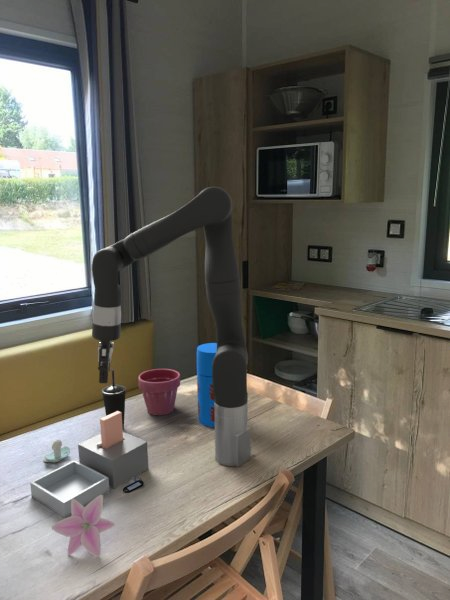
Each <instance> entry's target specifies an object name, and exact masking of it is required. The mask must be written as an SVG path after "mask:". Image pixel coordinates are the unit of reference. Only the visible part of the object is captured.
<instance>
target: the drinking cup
mask: <svg viewBox="0 0 450 600" xmlns="http://www.w3.org/2000/svg"><path fill="white" fill-rule="evenodd" d="M111 383H112V384H110V385H107V386H104V387H103V388H102V389H101V394H102V399H103V406H104V411H105V416H107V415H109V414H112V413H114V412H116V411H119V412H122V428H123V431H124V428H125V412H126V411H125V410H126V408H125V407H126V393H127V392H126V391H127V387H126V386H124V385H121V384H116V383H115V369H111Z"/></svg>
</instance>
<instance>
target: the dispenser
mask: <svg viewBox="0 0 450 600" xmlns="http://www.w3.org/2000/svg"><path fill="white" fill-rule="evenodd" d="M77 449H78V462H79V463H81V464H83V465H85V466H87V467H89V468H91V469H93V470H95V471H97V472H99V473H100V474H102V475H104V476H106V477H108V478H109V488H110V489H113V490H115V489H117V488H118V487H120V486H122V485H124V484H125V483H126V482H128V481H130V480H132V479H133V478H135V477H137V476H138V475H140V474H142V473H144V471H146V470H149V456H148V451H149V450H148V441H146V440H144V439H142V438H139V437H137V436H134V435H131V434H129V433H127V432H125V431H123V441H121V442H119V443H117V444H115V445H113V446H111V447H109V448H107V449H106V450H105V449H103V448H102V442H101V433H99V434H96V435H95V436H94V435H93V437H90V438H89V439H88V438H87V439H86V440H84V441H82V442H80V443H78V444H77ZM132 477H133V478H132ZM131 478H132V479H131Z"/></svg>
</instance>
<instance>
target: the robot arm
mask: <svg viewBox="0 0 450 600" xmlns="http://www.w3.org/2000/svg"><path fill="white" fill-rule="evenodd" d="M233 205H234V204H233V199H232V197H231V195H230V194H229V192H228V191H227V190H225V188H222V187H219V186H210V187H206V188H204V189H203V190H201V191H199V193H198V194H197V195H196V196H195V197H193V199H191V200H189V202H187V203H185V205H183V206H181V207H180V208H178V209H177V210H175V211H174V212H172V213H170V214H168V215H166V216H164V217H163V218H159V219H158V220H155V221H153V222H151V223H149V224H147V225H144V226H143V227H142V228H139V229H137V230H135V231H133V232H131V233H130V234H129V235H127V236H126V237H125V238H124V239H121V240H119V241H117V242H116V243H115V242H114V243H113V244H111V245H109V246H107V247H104V248H102V249H100V250H98V251H97V252H96V253H95V254H94V255H93V258H92V261H91V271H92V272H91V274H92V279H93V285H94V293H93V294H94V295H93V296H94V300H93V309H92V326H91V327H92V330H91V337H92V338H93V339H94V340H96V341H100V342H98V345H97V362H98V367H97V369H98V371H99V373H98V374H99V375H98V376H99V377H98V378H99V379H98V382H99V384H108V381H109V372H110V371H111V369H110V368H111V362H112V355H113V351H114V341H117V340H119V339H120V337H121V329H122V327H121V326H122V325H121V324H122V308H121V306H122V305H121V304H122V303H121V302H122V288H121V286H120V284H119V271H121V270H122V269H125V268H126V267H128V266H130V265H131V264H133V263H134V262H136V261H139V260H142V259H144V258H146V257H149V256H150V255H152V254H153V253H154V254H155V253H156V252H158V251H159V250H162V249H163V248H164V247H165V248H166V246H168V245H169V244H172V242H175V241H176V240H178V239H179V238H181V237H183V236H185V235H186V234H189V233H191V232H193V231H196V230H198V229H201V228H203V233H204V239H205V255H204V281H205V283H204V284H205V290H206V298H207V303H208V306H209V308H210V312H211V315H212V318H213V320H214V325H215V331H216V343H217V351H216V354H215V357H214V359H213V363H212V380H213V394H214V408H215V427H214V450H215V451H214V455H215V456H214V457H215V458H214V459H215V461H216V462H217V463H218V464H220V465H223V466H226V467H227V466H229V467H236V468H239V467H240V466H242V465H243V464H244V463H246V462H247V461H249V460H250V459H251V457H252V456H251V450H252V449H251V448H252V447H251V446H252V445H251V444H252V443H251V442H252V439H251V437H252V436H251V434H252V433H251V432H252V431H251V429H252V428H251V427H250V426H248V421H249V418H248V417H249V416H248V412H249V411H248V408H249V407H248V404H249V403H248V401H249V400H248V399H249V397H248V396H249V395H248V387H247V386H248V385H247V384H248V383H247V382H248V379H247V378H248V377H247V375H248V374H247V373H248V372H247V371H248V364H249V354H248V350H247V349H248V348H247V345H246V344H247V343H246V340H245V335H244V331H243V322H242V321H243V320H242V317H243V316H242V315H243V314H242V313H243V309H242V307H243V305H242V302H243V301H242V287H241V285H242V284H241V278H240V277H241V276H240V271H239V263H238V260H237V258H238V257H237V253H236V249H235V246H234V238H233V236H234V235H233V208H234V207H233Z"/></svg>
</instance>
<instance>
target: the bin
mask: <svg viewBox="0 0 450 600" xmlns="http://www.w3.org/2000/svg"><path fill="white" fill-rule="evenodd" d="M29 484H30V494H31V498H33V499H34V500H36V501H37V502H38V503H39V502H40V503H41V504H43V505H44V506H45V507H47V508H48V509H50V510H51V511H54V512H55V513H56V514H57V515H59V516H61V517H63V519H65V518H67V517H71V516H72V513H71V500H72V499H75V500H76V501H78V502H79V503H80V504H81V505H82V506H83V507H84V508H85V507H86V506H87V505H88V504H89V503H90V502H91V501H92V500H94V499H95V498H96V497H98V496H99V495H103V496H105V495H107V494H108V493H110V487H109V478H108V477H106V476H104V475H102V474H100V473H99V472H97V471H95V470H93V469H91V468H89V467H87V466H85V465H83V464H81V463H80V462H79V461H77V460H75V459H74V460H72V461H70V462H68V463H66V464H64V465H62V466H60V467H59V468H56V469H55V470H52V471H51V472H48V473H46V474H44V475H42V476H40V477H38V478H36V479H34V480H32V481H30V483H29Z"/></svg>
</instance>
